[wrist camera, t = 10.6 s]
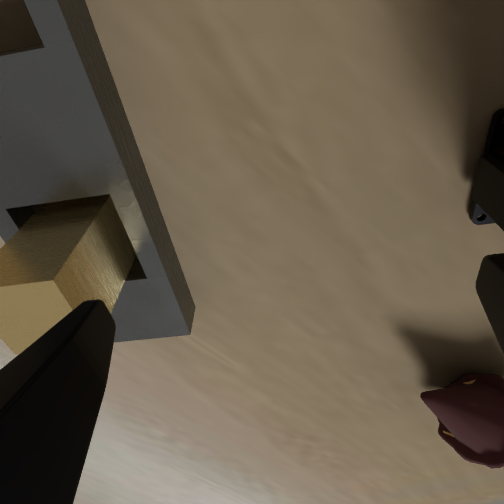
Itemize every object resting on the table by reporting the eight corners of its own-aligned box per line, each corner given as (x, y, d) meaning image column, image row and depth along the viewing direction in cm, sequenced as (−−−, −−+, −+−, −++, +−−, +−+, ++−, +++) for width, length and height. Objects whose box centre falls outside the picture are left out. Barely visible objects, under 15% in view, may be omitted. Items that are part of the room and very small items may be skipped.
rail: (-75, -441, 9) (-163, -552, 7) (195, 307, 26) (190, 334, 24) (-326, -351, 10) (-467, -431, 8) (90, 318, 27) (77, 346, 25)
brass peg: (117, 185, 20) (53, 280, 14) (141, 242, 23) (96, 345, 16) (51, 195, 21) (-41, 291, 14) (81, 250, 23) (15, 354, 17)
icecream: (388, 456, 26) (503, 484, 32) (491, 444, 21) (604, 480, 27) (375, 363, 30) (479, 403, 36) (459, 334, 25) (563, 386, 31)
